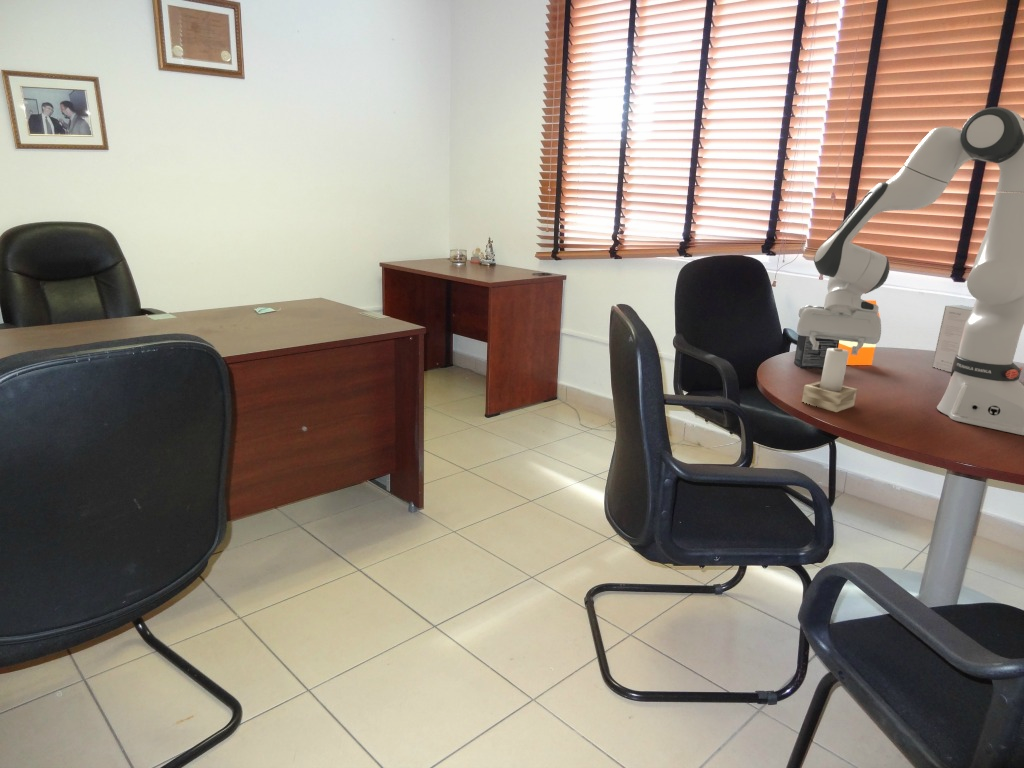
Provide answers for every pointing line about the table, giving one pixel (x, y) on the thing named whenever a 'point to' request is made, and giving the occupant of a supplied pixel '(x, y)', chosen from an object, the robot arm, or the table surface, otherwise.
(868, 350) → the orange juice
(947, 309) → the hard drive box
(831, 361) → the paper roll
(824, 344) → the small box
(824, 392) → the open wooden box
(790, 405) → the table surface
